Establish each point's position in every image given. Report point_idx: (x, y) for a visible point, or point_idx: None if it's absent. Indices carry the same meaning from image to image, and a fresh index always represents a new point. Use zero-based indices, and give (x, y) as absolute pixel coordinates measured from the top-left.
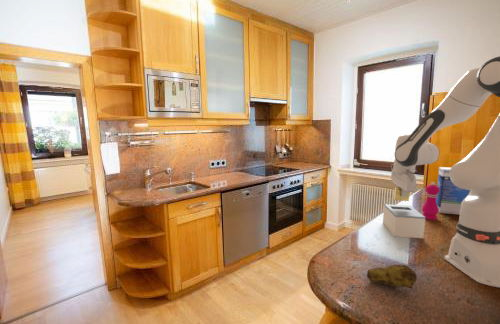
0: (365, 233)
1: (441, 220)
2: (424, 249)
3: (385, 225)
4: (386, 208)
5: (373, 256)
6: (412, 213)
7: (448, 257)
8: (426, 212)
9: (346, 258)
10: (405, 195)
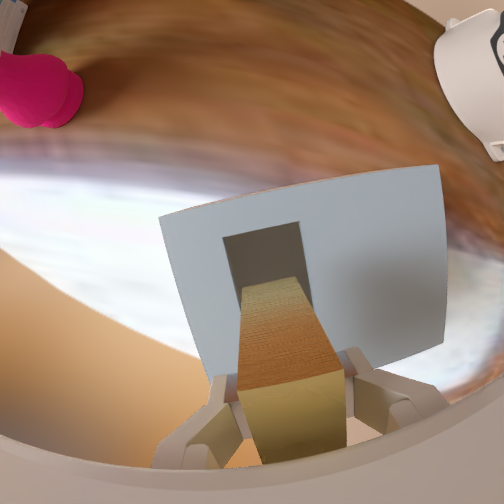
0: None
1: (82, 56)
2: (462, 200)
3: None
4: None
5: (500, 343)
6: (393, 236)
7: (501, 153)
8: (59, 106)
9: None
10: (363, 358)
